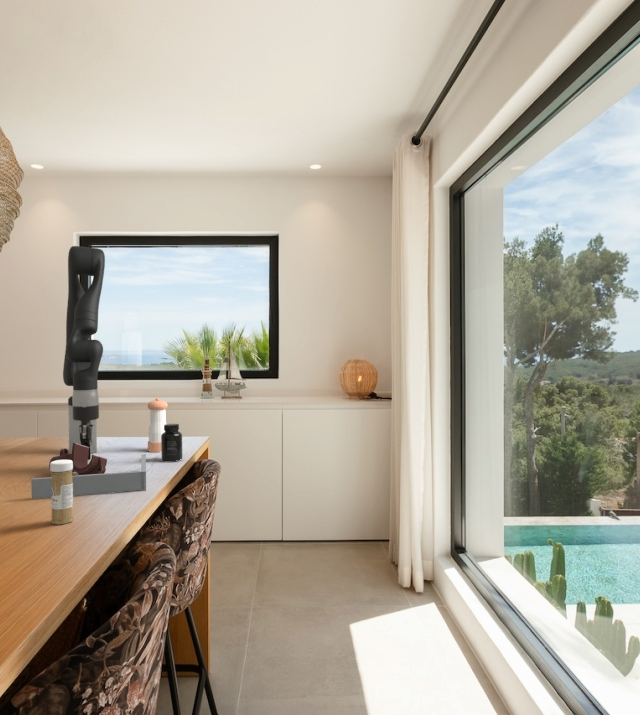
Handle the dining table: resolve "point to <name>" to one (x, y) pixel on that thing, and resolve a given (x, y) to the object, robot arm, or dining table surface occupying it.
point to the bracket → (82, 460)
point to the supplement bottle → (171, 443)
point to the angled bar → (96, 483)
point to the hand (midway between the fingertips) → (86, 459)
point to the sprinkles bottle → (61, 491)
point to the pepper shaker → (156, 424)
